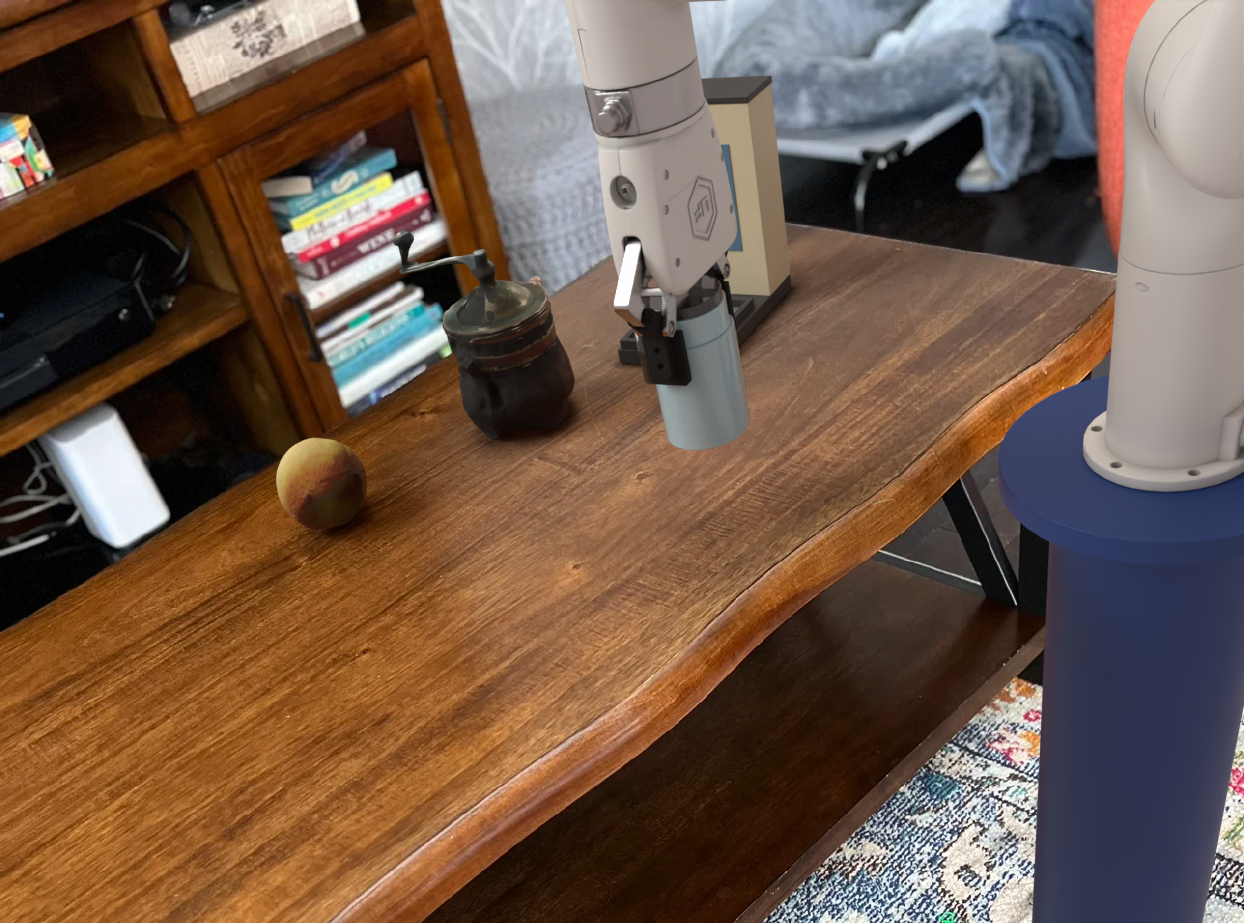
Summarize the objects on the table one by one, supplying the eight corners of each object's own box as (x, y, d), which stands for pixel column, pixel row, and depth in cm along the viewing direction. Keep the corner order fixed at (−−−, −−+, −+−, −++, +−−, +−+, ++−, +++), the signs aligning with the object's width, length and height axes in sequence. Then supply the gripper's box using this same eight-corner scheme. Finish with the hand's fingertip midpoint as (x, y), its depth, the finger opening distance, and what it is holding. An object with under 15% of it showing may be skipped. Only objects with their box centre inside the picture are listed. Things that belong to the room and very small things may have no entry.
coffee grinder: (470, 389, 132) (417, 209, 119) (602, 389, 126) (560, 200, 114) (415, 456, 124) (351, 271, 111) (552, 459, 118) (502, 264, 106)
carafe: (727, 454, 97) (702, 315, 89) (635, 446, 101) (604, 313, 93) (764, 408, 100) (743, 271, 93) (674, 402, 104) (647, 271, 97)
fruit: (395, 502, 119) (366, 423, 113) (342, 553, 114) (309, 474, 108) (333, 493, 122) (302, 416, 116) (279, 543, 118) (244, 465, 112)
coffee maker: (718, 371, 124) (684, 151, 110) (619, 363, 129) (575, 152, 115) (793, 287, 134) (771, 75, 120) (698, 283, 139) (667, 79, 125)
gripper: (631, 153, 77) (685, 422, 90) (754, 46, 87) (788, 304, 99) (529, 157, 81) (595, 415, 93) (658, 54, 90) (703, 302, 103)
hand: (694, 356), depth 96 cm, fingers closed on carafe, 6 cm apart
